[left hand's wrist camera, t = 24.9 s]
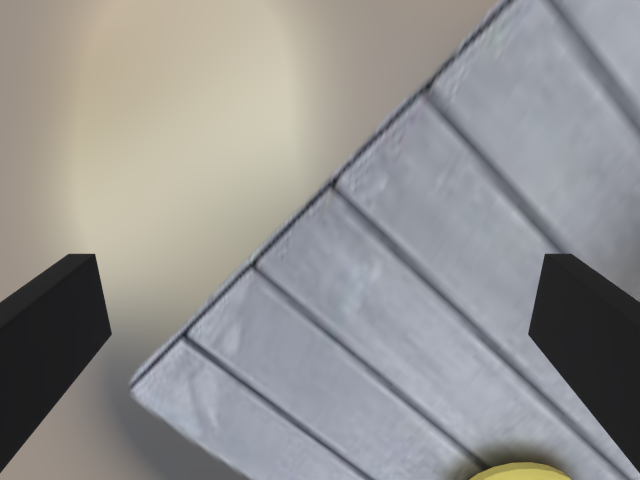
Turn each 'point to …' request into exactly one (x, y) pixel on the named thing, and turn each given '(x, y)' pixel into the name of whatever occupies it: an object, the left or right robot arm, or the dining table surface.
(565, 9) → the dining table surface
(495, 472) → the vase
